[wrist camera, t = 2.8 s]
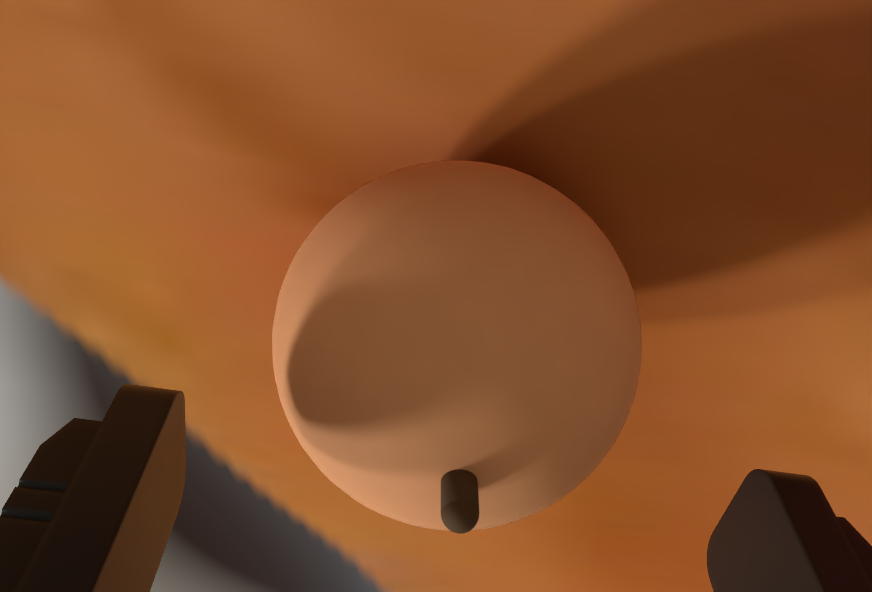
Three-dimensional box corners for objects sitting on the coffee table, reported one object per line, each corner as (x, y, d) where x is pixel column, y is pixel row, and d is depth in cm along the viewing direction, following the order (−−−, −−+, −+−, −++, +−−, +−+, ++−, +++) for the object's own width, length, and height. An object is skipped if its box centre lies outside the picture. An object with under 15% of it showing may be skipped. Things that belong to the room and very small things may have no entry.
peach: (244, 262, 15) (133, 545, 10) (435, 32, 13) (430, 242, 7) (465, 403, 17) (477, 698, 12) (668, 232, 15) (803, 512, 9)
